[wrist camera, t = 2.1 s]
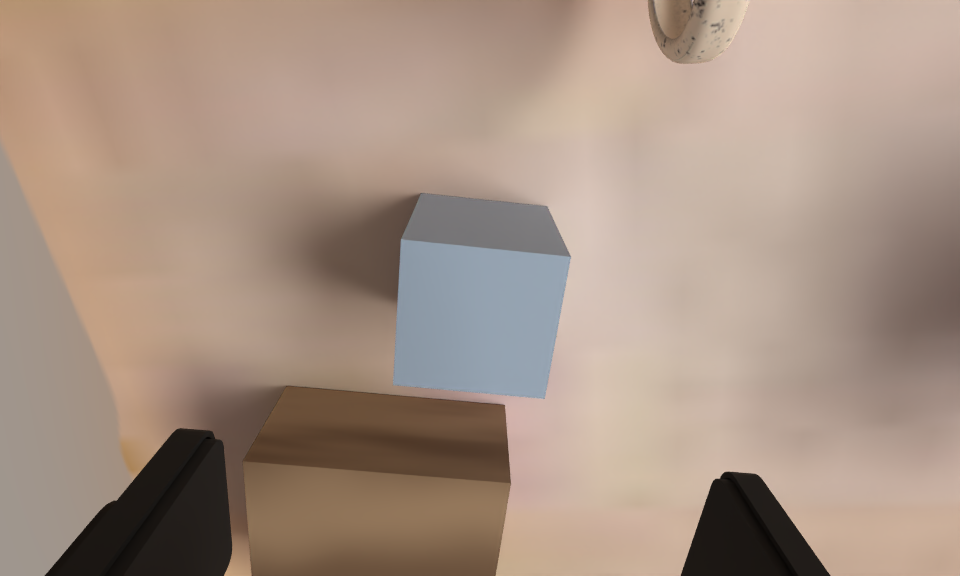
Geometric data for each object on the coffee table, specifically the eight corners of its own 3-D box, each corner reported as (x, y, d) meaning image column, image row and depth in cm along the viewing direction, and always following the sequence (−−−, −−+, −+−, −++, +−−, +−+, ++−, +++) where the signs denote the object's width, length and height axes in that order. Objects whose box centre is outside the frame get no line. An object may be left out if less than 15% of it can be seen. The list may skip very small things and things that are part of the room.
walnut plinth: (286, 385, 25) (242, 461, 20) (504, 405, 25) (510, 483, 20) (292, 546, 28) (256, 640, 24) (481, 560, 29) (482, 655, 24)
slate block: (421, 192, 21) (400, 239, 16) (546, 205, 21) (570, 256, 16) (413, 307, 23) (392, 385, 18) (529, 318, 23) (544, 398, 18)
